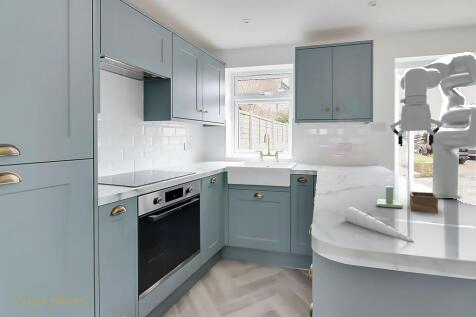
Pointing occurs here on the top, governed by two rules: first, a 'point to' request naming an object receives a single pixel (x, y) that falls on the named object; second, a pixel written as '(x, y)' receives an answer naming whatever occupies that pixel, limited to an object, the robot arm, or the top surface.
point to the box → (423, 202)
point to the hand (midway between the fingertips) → (415, 145)
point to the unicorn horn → (371, 223)
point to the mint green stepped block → (389, 199)
